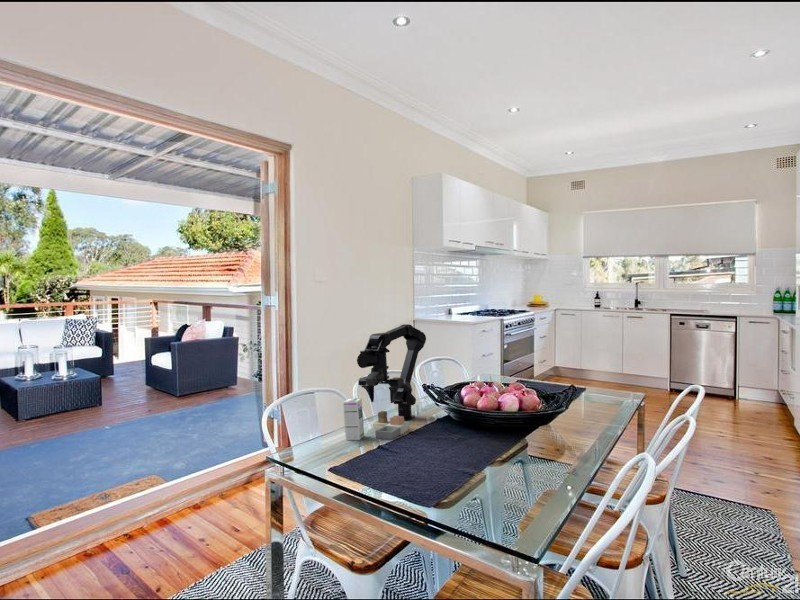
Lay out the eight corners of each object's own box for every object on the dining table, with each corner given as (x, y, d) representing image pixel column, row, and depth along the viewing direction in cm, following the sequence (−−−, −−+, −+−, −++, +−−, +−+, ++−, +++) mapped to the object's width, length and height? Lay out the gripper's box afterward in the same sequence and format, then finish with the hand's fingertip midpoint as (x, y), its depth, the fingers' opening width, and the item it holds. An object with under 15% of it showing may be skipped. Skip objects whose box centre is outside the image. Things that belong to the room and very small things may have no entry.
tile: (395, 421, 189) (394, 415, 189) (404, 422, 188) (403, 416, 188) (390, 424, 186) (390, 418, 186) (399, 425, 184) (399, 418, 184)
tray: (384, 433, 185) (384, 426, 185) (400, 434, 181) (400, 427, 181) (375, 438, 179) (375, 430, 179) (392, 440, 175) (391, 432, 175)
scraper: (380, 424, 200) (379, 409, 200) (393, 425, 197) (392, 410, 197) (373, 428, 194) (372, 413, 194) (385, 429, 192) (385, 414, 192)
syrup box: (360, 440, 177) (358, 401, 177) (345, 440, 178) (342, 401, 178) (364, 435, 183) (362, 398, 183) (349, 435, 184) (347, 398, 184)
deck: (393, 428, 191) (393, 421, 191) (409, 429, 188) (408, 422, 188) (384, 433, 185) (384, 425, 185) (400, 434, 182) (400, 426, 182)
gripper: (349, 367, 193) (352, 405, 193) (390, 367, 184) (392, 408, 184) (364, 363, 203) (366, 399, 203) (403, 363, 194) (405, 401, 194)
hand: (382, 402), depth 196 cm, fingers open, 9 cm apart
